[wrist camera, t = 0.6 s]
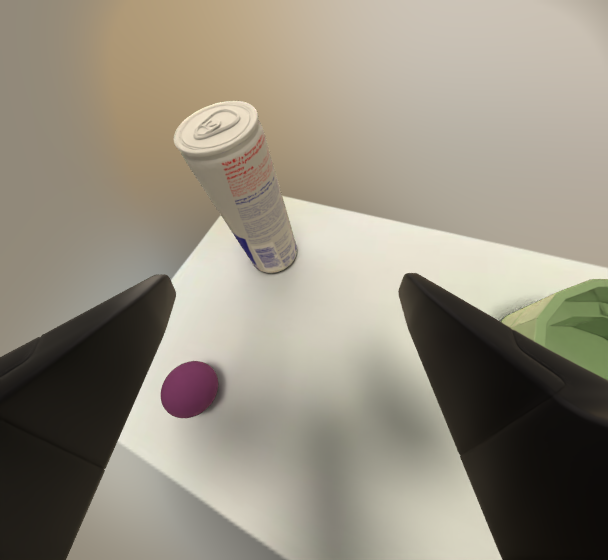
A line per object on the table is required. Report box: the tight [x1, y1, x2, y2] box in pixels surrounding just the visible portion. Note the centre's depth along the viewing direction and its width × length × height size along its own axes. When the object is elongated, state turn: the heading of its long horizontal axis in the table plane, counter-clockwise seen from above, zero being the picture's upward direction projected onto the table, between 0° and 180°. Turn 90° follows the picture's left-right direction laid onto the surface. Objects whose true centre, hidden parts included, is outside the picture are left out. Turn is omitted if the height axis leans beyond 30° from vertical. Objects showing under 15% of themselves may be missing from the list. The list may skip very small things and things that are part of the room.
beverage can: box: [174, 101, 297, 273], centre depth 21 cm, size 6×6×15 cm
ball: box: [161, 361, 218, 418], centre depth 19 cm, size 4×4×4 cm
